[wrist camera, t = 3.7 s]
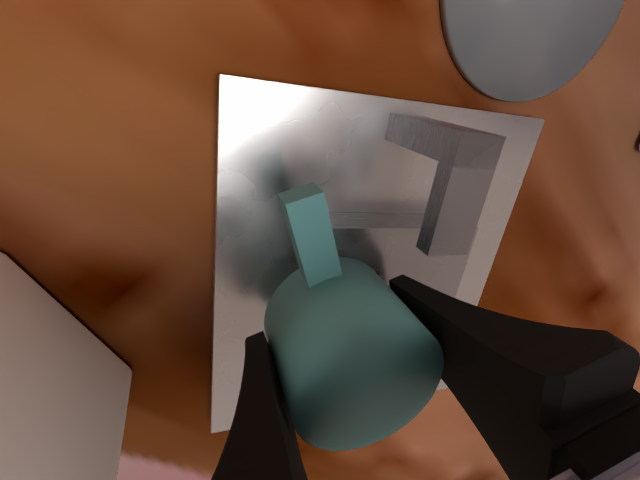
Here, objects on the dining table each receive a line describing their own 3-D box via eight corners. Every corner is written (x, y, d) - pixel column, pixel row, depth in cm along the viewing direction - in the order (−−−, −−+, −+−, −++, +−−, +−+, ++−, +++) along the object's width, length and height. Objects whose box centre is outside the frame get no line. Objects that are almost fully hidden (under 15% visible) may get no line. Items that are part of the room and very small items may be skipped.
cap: (363, 161, 12) (434, 201, 9) (390, 334, 16) (446, 407, 13) (216, 209, 11) (232, 275, 8) (283, 380, 15) (312, 473, 12)
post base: (530, 116, 17) (646, 136, 13) (439, 378, 23) (496, 449, 19) (217, 73, 12) (238, 82, 8) (209, 419, 19) (218, 527, 14)
